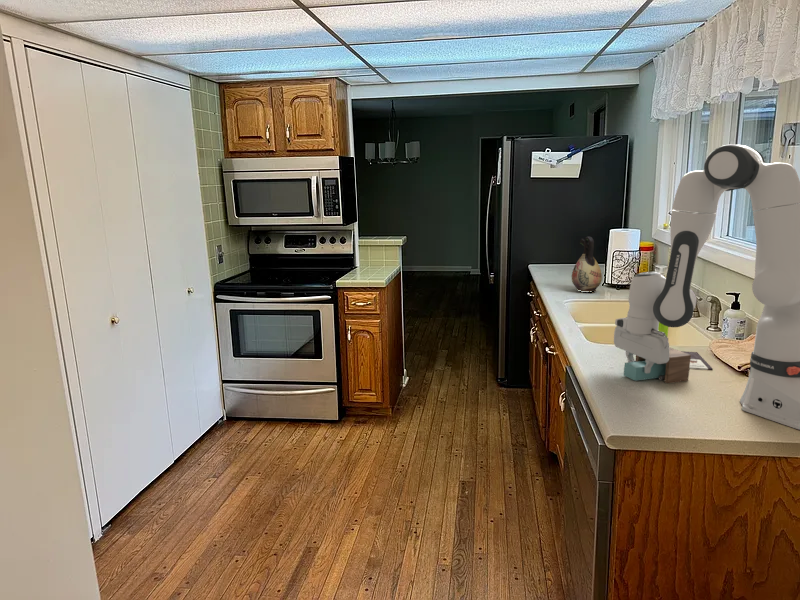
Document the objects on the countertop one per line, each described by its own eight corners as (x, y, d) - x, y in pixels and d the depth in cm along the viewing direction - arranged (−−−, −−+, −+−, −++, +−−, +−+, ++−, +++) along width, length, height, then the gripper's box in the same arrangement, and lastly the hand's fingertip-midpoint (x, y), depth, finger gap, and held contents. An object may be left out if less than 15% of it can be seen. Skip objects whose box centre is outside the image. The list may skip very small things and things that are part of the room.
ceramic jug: (566, 289, 313) (569, 234, 307) (594, 288, 314) (597, 234, 308) (577, 295, 297) (581, 237, 291) (606, 294, 298) (611, 237, 291)
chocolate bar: (697, 352, 198) (712, 368, 181) (696, 354, 198) (712, 371, 181) (669, 350, 200) (681, 366, 183) (668, 353, 200) (681, 369, 183)
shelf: (688, 380, 172) (690, 355, 170) (667, 383, 170) (669, 357, 168) (654, 366, 185) (656, 342, 183) (634, 368, 183) (636, 344, 181)
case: (660, 371, 180) (661, 359, 179) (672, 376, 175) (673, 363, 175) (623, 375, 176) (624, 362, 175) (634, 380, 171) (636, 367, 170)
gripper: (677, 333, 162) (672, 379, 165) (628, 317, 181) (624, 358, 184) (659, 334, 160) (654, 381, 163) (611, 318, 180) (608, 360, 182)
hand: (638, 369), depth 174 cm, fingers closed on case, 5 cm apart
